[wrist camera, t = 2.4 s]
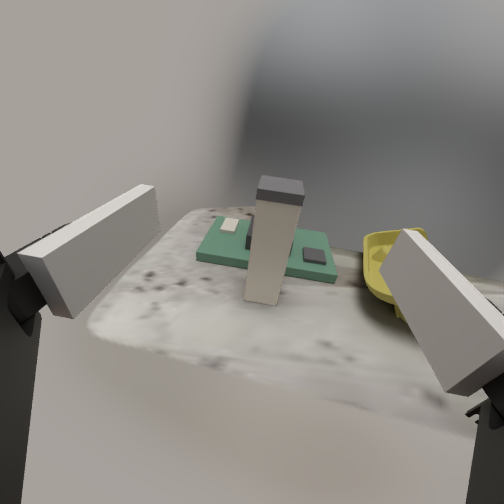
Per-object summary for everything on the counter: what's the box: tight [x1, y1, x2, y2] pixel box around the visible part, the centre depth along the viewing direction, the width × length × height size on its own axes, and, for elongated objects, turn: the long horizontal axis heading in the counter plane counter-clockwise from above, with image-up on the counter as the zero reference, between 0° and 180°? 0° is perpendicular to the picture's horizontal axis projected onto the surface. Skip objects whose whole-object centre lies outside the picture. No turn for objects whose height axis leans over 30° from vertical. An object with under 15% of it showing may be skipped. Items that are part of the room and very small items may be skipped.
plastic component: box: [363, 228, 428, 322], centre depth 31 cm, size 20×7×10 cm
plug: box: [244, 175, 305, 306], centre depth 25 cm, size 4×4×14 cm
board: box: [196, 215, 338, 283], centre depth 36 cm, size 20×12×4 cm, turn 82°
